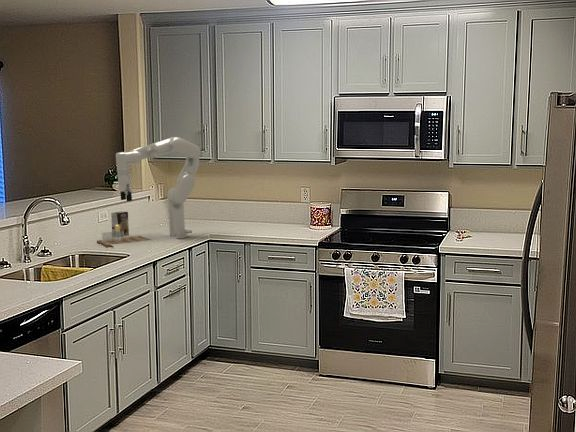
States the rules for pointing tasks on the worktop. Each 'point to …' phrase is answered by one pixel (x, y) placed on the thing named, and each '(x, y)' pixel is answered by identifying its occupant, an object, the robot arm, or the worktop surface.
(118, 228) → the brass pin
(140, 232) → the worktop surface
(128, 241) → the walnut board
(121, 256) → the worktop surface
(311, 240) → the worktop surface
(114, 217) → the coffee box
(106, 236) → the clear container
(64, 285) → the worktop surface
